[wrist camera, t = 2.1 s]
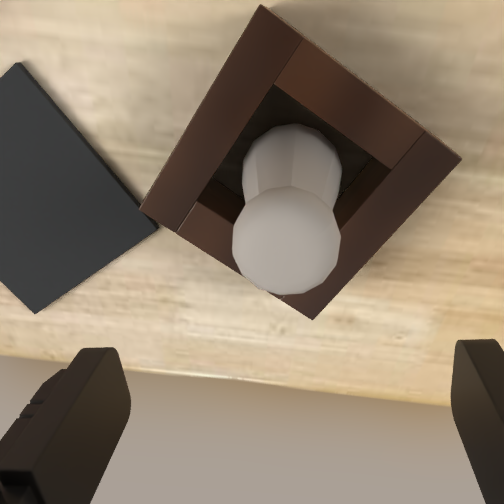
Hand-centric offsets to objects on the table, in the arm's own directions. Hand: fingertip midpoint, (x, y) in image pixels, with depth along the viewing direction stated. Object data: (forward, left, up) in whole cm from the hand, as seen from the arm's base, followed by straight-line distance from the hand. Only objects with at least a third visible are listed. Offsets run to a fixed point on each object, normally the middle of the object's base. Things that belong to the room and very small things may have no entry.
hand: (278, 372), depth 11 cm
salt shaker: (0, 0, -20) cm, 20 cm away
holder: (0, 0, -20) cm, 20 cm away
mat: (-8, -17, -20) cm, 27 cm away
